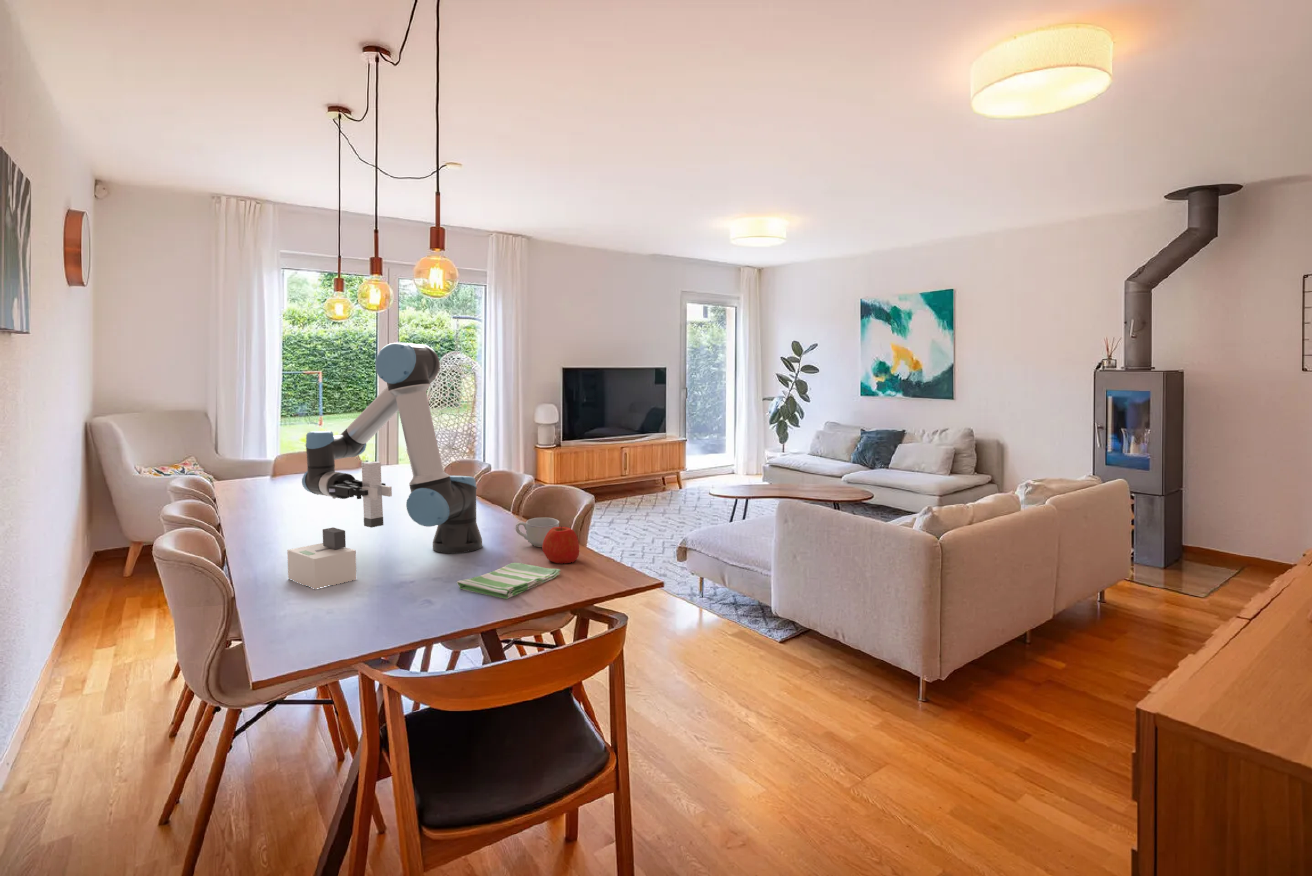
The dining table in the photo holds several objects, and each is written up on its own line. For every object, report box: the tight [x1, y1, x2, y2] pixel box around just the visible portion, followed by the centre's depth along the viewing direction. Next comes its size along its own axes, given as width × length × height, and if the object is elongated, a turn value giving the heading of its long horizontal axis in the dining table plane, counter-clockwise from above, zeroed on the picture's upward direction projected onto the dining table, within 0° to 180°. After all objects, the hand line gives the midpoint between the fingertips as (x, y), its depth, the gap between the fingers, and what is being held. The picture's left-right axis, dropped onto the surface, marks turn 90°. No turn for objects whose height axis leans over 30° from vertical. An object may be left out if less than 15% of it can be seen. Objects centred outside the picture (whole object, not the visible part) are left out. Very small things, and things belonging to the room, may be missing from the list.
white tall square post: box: [361, 460, 384, 529], centre depth 190 cm, size 4×4×18 cm
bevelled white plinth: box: [287, 542, 357, 590], centre depth 179 cm, size 11×14×8 cm
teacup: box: [515, 517, 560, 547], centre depth 219 cm, size 14×11×8 cm
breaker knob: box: [322, 527, 347, 549], centre depth 182 cm, size 3×6×4 cm, turn 54°
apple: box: [541, 526, 580, 565], centre depth 200 cm, size 11×11×11 cm
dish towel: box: [456, 562, 562, 600], centre depth 180 cm, size 18×23×3 cm
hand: (383, 492), depth 187 cm, fingers closed on white tall square post, 4 cm apart
